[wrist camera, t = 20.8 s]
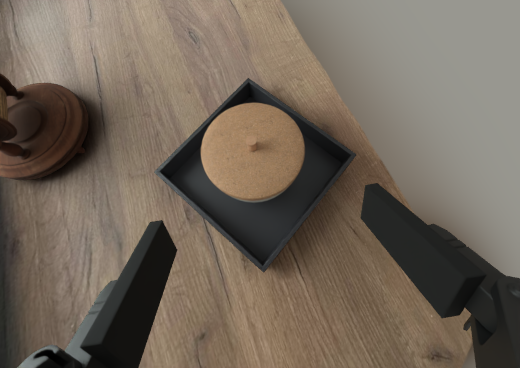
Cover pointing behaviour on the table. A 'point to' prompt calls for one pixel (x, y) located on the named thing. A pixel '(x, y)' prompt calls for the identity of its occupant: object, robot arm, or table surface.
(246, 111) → the trinket box
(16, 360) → the table surface
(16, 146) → the scroll
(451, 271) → the robot arm
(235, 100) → the tray
